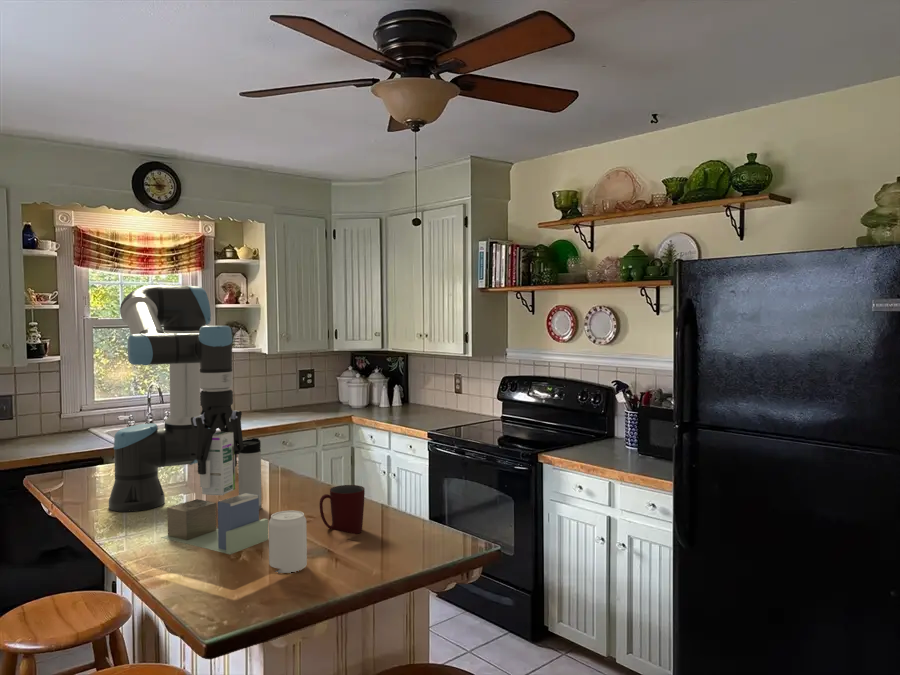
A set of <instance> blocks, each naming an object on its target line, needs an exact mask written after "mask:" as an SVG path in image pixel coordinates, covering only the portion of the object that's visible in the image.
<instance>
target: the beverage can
mask: <svg viewBox="0 0 900 675" xmlns="http://www.w3.org/2000/svg"><path fill="white" fill-rule="evenodd" d="M307 544H308V543H307V518H306V517H305V513H304V512H303V511H301V510H282V511H277V512H274V513H272V514H271V515H270V519H268V563H269V566H270V567H271V568H275V569H277V570H275V571H274V573H276V572H278V573H277V574H280V573H290V574H292V573H291V572H295V573H297V572H296V571H298V572H300V571H301V570H303V569H304V568H306V567H307V565H308V557H307V556H308V552H307V551H308V549H307V547H308V546H307ZM299 570H300V571H299Z"/></svg>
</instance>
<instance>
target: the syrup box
mask: <svg viewBox="0 0 900 675" xmlns="http://www.w3.org/2000/svg"><path fill="white" fill-rule="evenodd" d="M202 455H203V454H202ZM207 460H210V488H203V487H201V493H202V495H206V496H225V495H226V494H228V493H230V492H232V491H235V490H236V470H235V471H234V438H233V432H223V431H221V430H220V431H218V430H216V432H215V433H214V435H213V436H212V442H211V446H210V450H209V453H208V457H207Z"/></svg>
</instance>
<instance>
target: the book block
mask: <svg viewBox="0 0 900 675" xmlns="http://www.w3.org/2000/svg"><path fill="white" fill-rule="evenodd" d="M258 520H260V509H259V495H255V494H249V493H245V494H242V495H239V494H238V495H235V496H231V497H229V498H225V499H221V500H218V501H217V528H218V548H219V549H223V550H226V532H227V531H230V530H232V529H235V528H238V527H241V526H244V525H247V524H250V523H253V522H256V521H258Z"/></svg>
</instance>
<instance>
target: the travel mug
mask: <svg viewBox="0 0 900 675" xmlns="http://www.w3.org/2000/svg"><path fill="white" fill-rule="evenodd" d="M261 442H262V441H261V440H260V439H259V438H258V437H252V438H250V439H243V450H240V454H237V459H238V460H237V465H238V466H237V468H238V470H237V472H238V496H239V495H242V494H245V493H249V494H255V495H259V510H261V509H262V506H263V505H262V454H261V453H262V451H261V450H262V449H261V447H262V446H261Z"/></svg>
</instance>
